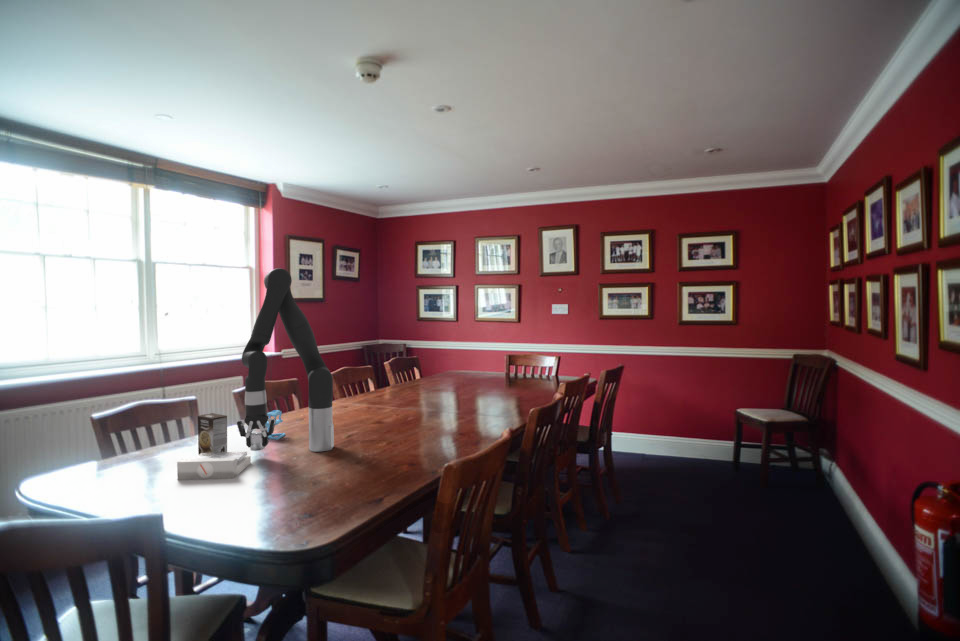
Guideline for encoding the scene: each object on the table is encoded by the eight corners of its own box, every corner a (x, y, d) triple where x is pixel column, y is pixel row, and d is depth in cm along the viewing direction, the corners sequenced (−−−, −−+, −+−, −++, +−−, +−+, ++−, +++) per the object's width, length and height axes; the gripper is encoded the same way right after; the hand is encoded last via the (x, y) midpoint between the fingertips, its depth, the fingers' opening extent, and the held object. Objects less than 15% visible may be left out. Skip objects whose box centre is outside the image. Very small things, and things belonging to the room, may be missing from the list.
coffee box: (197, 457, 191) (196, 415, 190) (213, 453, 197) (212, 412, 196) (212, 461, 187) (211, 418, 186) (228, 456, 192) (227, 414, 192)
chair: (267, 434, 224) (266, 408, 223) (285, 435, 224) (285, 408, 223) (259, 439, 216) (258, 412, 216) (278, 439, 216) (277, 412, 215)
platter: (247, 454, 184) (247, 451, 184) (235, 464, 173) (235, 461, 173) (201, 456, 182) (201, 452, 182) (187, 466, 171) (186, 462, 171)
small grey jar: (266, 446, 193) (265, 431, 193) (262, 450, 188) (261, 434, 188) (252, 447, 192) (252, 431, 192) (248, 451, 187) (247, 435, 187)
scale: (250, 462, 184) (250, 446, 184) (233, 478, 168) (232, 461, 168) (199, 464, 183) (199, 448, 182) (176, 480, 166) (176, 462, 166)
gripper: (278, 399, 194) (279, 442, 195) (239, 401, 192) (241, 444, 193) (272, 403, 186) (274, 448, 187) (232, 405, 185) (234, 450, 185)
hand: (257, 446), depth 190 cm, fingers closed on small grey jar, 5 cm apart
